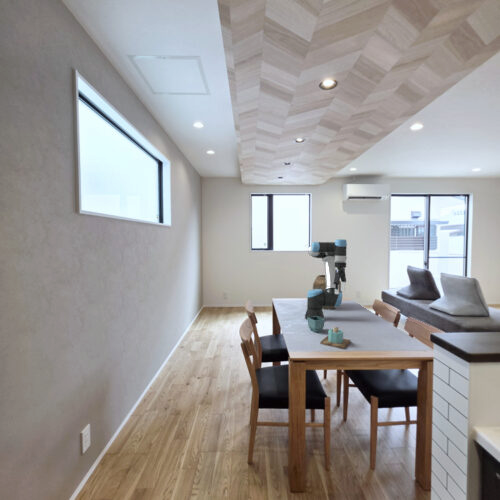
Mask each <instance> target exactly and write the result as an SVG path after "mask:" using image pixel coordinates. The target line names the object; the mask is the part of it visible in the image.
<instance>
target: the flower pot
mask: <svg viewBox="0 0 500 500" xmlns="http://www.w3.org/2000/svg"><path fill="white" fill-rule="evenodd" d="M306 320H307V325H308V328H309V330H310V331H312V332H314V333H317V332H318V333H320V332H322V331H323V329H324V327H325V321H326V318H325V317H324V318H321V317H318V316H313V317H307V319H306Z"/></svg>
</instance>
